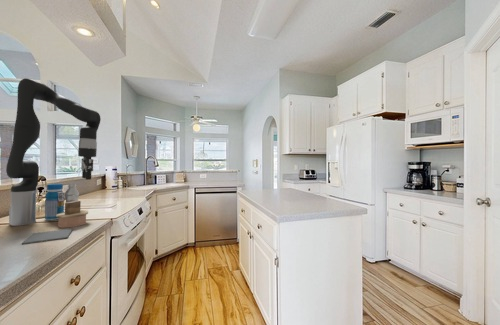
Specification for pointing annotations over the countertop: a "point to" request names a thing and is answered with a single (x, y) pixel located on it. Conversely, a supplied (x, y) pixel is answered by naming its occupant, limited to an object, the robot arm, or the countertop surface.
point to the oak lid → (72, 210)
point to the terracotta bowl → (72, 221)
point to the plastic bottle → (71, 193)
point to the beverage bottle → (54, 201)
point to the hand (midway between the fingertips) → (86, 178)
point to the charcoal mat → (48, 236)
